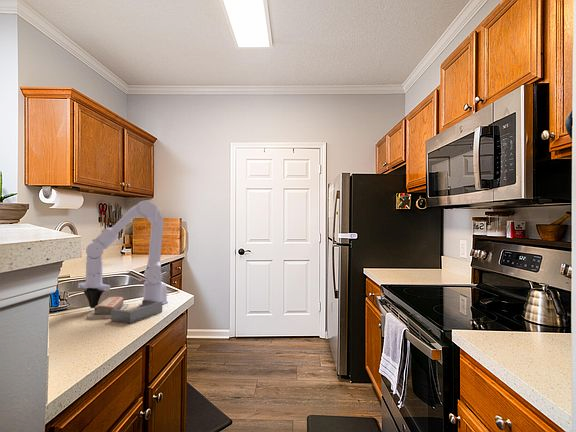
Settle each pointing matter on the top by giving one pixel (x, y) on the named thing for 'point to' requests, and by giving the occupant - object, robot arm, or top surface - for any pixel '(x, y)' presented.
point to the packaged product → (107, 308)
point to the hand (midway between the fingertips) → (93, 307)
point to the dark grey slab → (137, 312)
